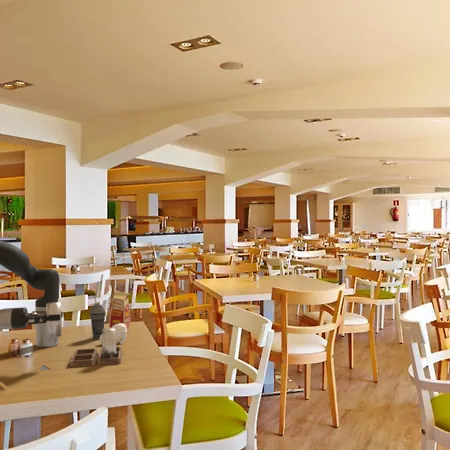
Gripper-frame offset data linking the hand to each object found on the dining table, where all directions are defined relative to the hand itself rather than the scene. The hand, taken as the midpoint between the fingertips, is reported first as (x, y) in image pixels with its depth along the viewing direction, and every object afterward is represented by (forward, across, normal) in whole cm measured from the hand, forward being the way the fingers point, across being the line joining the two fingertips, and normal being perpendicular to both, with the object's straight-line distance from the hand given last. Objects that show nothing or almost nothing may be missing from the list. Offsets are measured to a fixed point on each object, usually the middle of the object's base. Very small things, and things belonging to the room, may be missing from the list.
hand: (61, 315), depth 178 cm
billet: (+17, 0, +18) cm, 25 cm away
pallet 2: (+17, +4, +19) cm, 26 cm away
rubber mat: (-3, 0, +19) cm, 19 cm away
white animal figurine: (+17, +32, +20) cm, 41 cm away
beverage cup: (+9, +45, +20) cm, 50 cm away
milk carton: (+19, +58, +20) cm, 64 cm away
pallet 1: (+7, +4, +19) cm, 21 cm away
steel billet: (-3, 0, +7) cm, 8 cm away
